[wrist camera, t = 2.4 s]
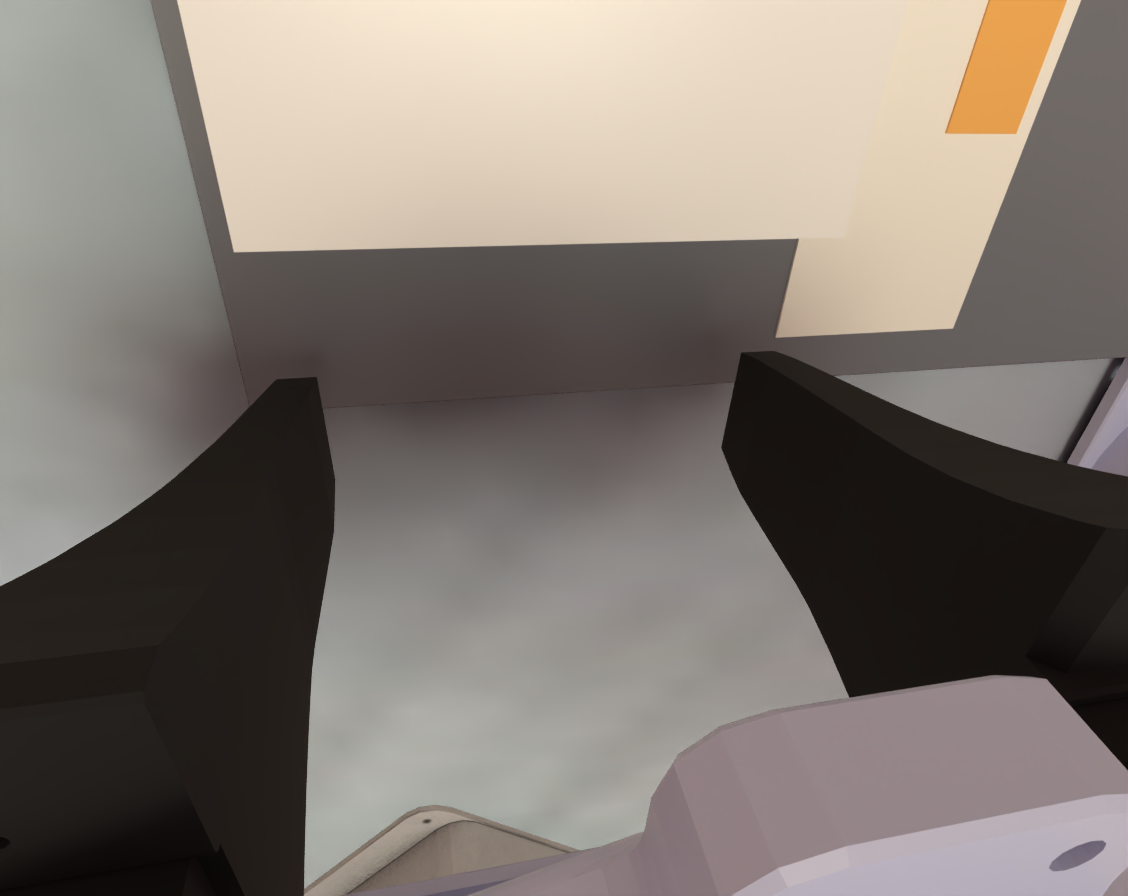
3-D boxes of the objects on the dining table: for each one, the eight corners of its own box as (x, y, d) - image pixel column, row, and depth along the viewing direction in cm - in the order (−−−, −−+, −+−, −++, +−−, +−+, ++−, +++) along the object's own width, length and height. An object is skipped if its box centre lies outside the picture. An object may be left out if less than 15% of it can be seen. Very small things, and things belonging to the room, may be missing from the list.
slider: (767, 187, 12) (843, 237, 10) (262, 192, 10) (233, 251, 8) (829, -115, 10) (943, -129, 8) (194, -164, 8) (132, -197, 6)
